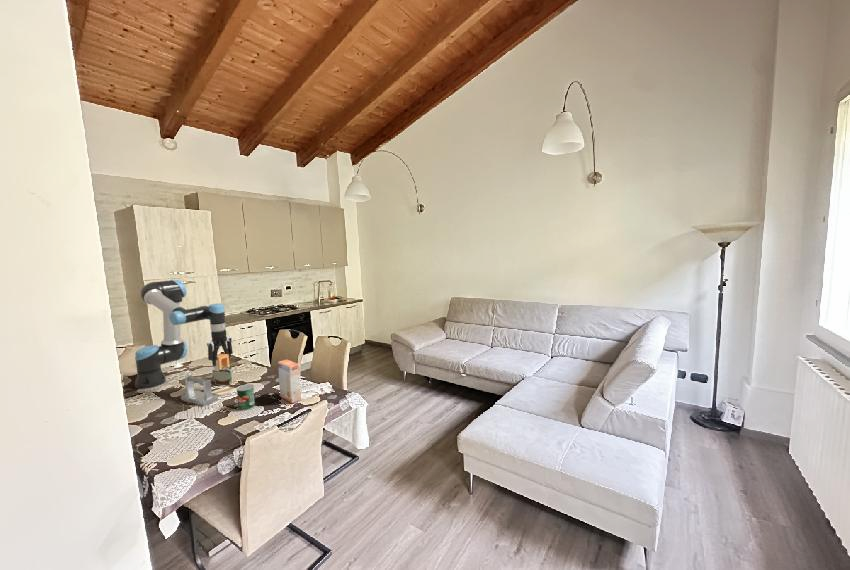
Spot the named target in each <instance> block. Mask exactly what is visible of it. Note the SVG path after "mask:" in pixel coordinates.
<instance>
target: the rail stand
mask: <svg viewBox="0 0 850 570" xmlns="http://www.w3.org/2000/svg"><path fill="white" fill-rule="evenodd" d="M184 383H185V391H186V393H184V394H182V395H180V400H181V401H184V402H188V403H191V404H195V405H197V406H201V407H205V406H208V405H210V404H213V403H216V402H217V401H219V396H218V395H214V394H212V391H213V390H212V381H211V379H205V378H201V377H197V376H193V375H187V376H185V377H184ZM194 383H196V384H200V385H202V388H203V391H200V390H198V389H197V390H196V389H195V388H194Z"/></svg>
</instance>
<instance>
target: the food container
mask: <svg viewBox="0 0 850 570" xmlns="http://www.w3.org/2000/svg"><path fill="white" fill-rule="evenodd" d="M211 371H212V372H211V373H213V378H214V379H213V380H214V384H215V385H217V386H231V385H232V377H233V376H232V375H233V374H232V373H233V371H234V370H233V368H232V366H230V367H224V366H222V369H221V370H219V371H214V368H213V369H212V370H211Z"/></svg>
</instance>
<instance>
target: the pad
mask: <svg viewBox="0 0 850 570" xmlns="http://www.w3.org/2000/svg"><path fill="white" fill-rule="evenodd" d="M235 391H237V388H236V387H231V386H229V385H224V386H221V387H220V388H217V389H215V390H212V395H216V396H218V397H223V396H226V395H228V394H230V393H233V392H235Z"/></svg>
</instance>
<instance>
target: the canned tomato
mask: <svg viewBox="0 0 850 570" xmlns="http://www.w3.org/2000/svg"><path fill="white" fill-rule="evenodd" d="M236 389H237V390H236V392H237V395H236V396H237V407H238V410H239V411H242V412H243V411H248V410H251V409H253V408H254V407H255V406H256V404H255V389H254V385H253V384H243V385H240V386H238V387H237V388H236Z"/></svg>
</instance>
